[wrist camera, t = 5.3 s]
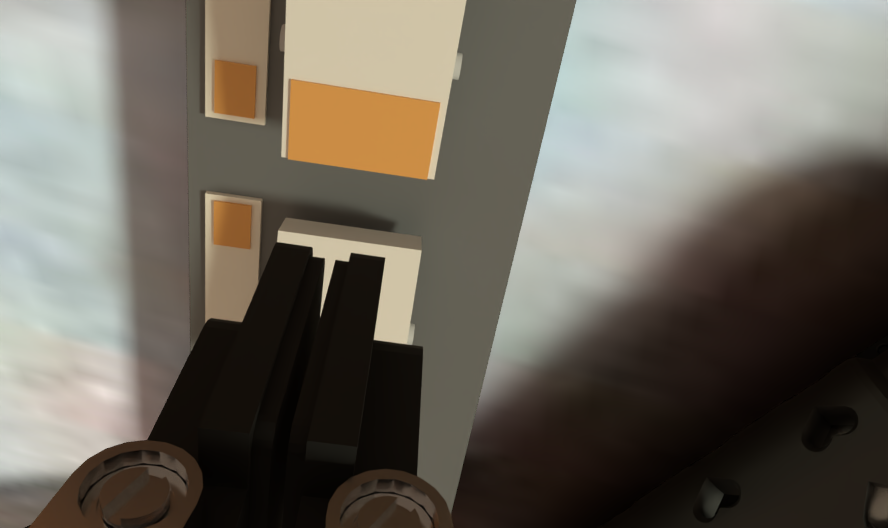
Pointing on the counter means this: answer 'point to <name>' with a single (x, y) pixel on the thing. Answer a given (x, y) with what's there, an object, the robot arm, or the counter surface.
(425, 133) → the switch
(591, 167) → the counter surface
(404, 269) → the switch middle
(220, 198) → the switch unit
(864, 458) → the muzzle brake
